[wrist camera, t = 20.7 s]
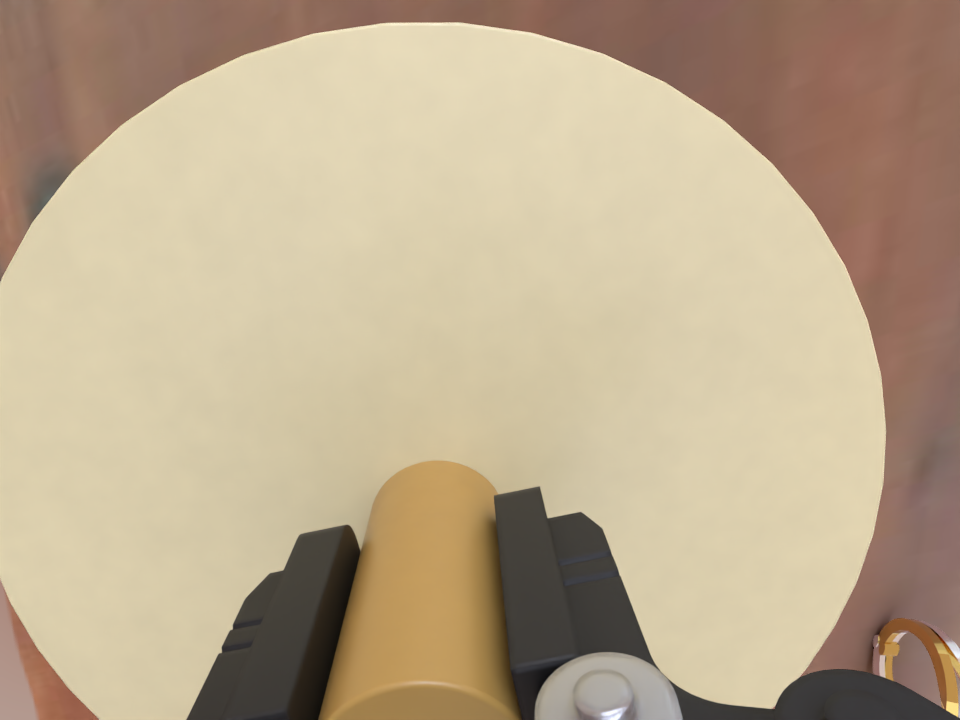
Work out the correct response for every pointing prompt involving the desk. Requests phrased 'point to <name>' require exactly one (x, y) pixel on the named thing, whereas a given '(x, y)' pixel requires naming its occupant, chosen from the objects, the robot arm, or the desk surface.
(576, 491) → the canister lid
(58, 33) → the desk surface
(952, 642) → the ring
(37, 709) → the desk surface
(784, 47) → the desk surface
